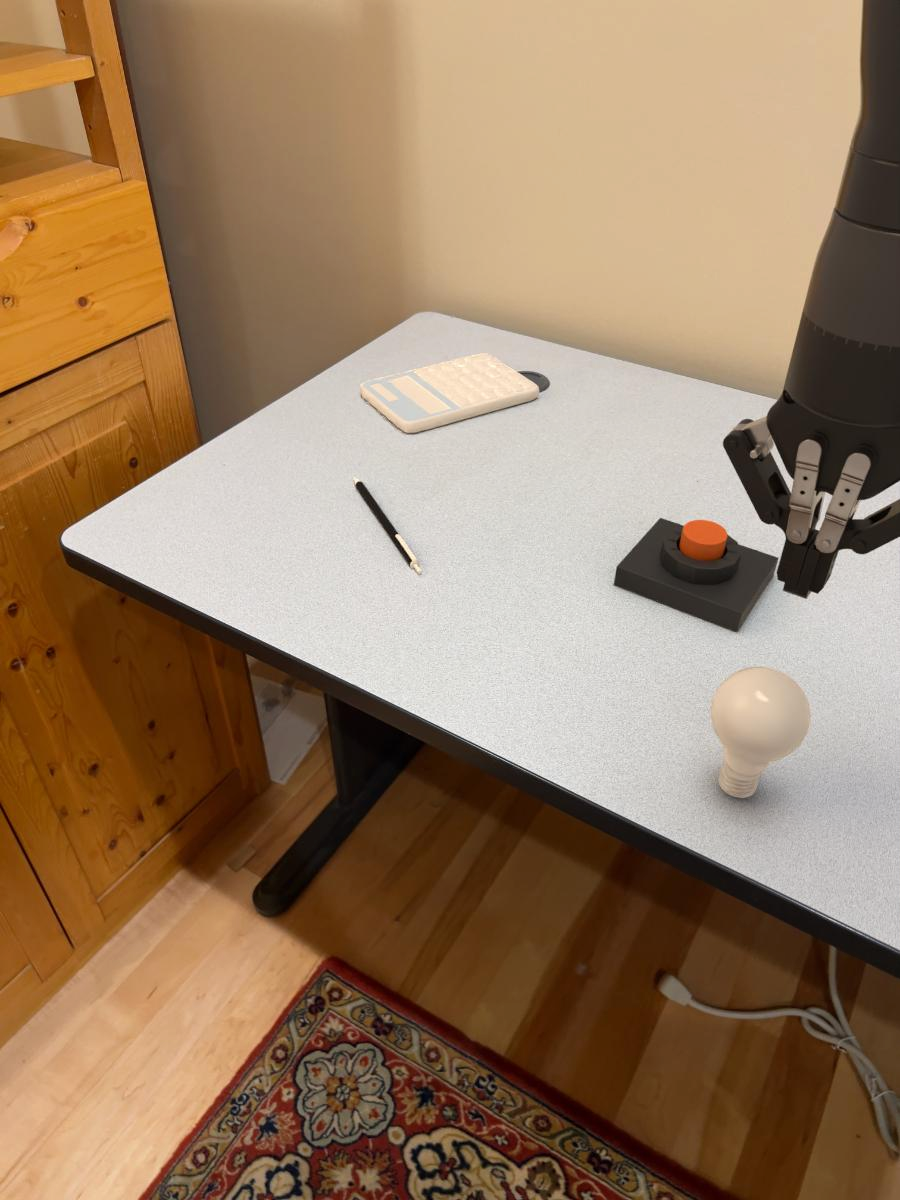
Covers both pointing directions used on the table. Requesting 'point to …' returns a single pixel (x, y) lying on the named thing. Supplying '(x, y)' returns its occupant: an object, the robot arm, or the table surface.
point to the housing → (696, 576)
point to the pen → (388, 526)
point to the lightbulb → (757, 724)
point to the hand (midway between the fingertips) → (799, 588)
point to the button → (703, 540)
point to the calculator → (448, 392)
